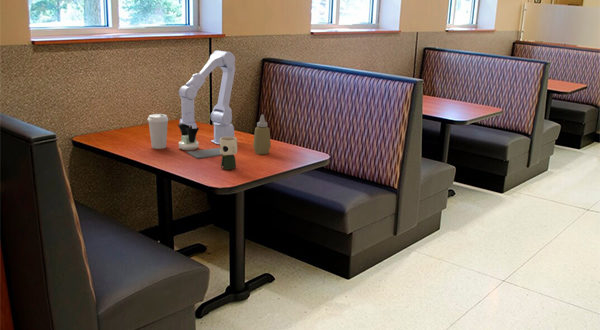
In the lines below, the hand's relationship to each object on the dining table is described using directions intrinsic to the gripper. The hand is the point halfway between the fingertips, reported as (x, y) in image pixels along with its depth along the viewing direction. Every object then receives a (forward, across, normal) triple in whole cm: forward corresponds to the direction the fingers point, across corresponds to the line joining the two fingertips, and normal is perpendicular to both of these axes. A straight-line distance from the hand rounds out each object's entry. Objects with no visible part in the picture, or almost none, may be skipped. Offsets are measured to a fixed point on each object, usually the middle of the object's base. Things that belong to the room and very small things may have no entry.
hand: (188, 140), depth 278 cm
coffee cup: (+4, -9, -11) cm, 15 cm away
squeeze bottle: (+4, +23, +26) cm, 35 cm away
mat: (+4, +12, +4) cm, 14 cm away
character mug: (+4, +38, +1) cm, 38 cm away
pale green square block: (+1, 0, 0) cm, 1 cm away
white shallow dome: (+4, 0, 0) cm, 4 cm away
